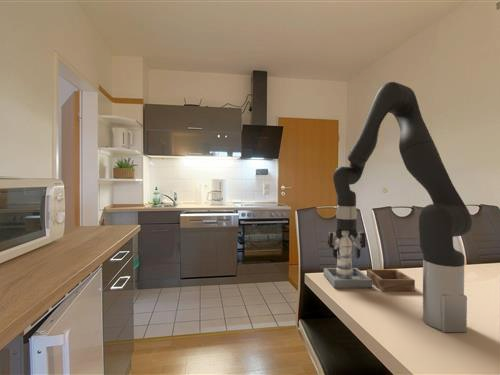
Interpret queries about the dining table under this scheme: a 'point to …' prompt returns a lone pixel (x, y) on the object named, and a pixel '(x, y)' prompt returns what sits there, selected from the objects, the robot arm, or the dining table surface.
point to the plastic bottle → (344, 257)
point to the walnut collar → (391, 280)
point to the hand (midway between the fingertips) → (346, 258)
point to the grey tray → (356, 282)
